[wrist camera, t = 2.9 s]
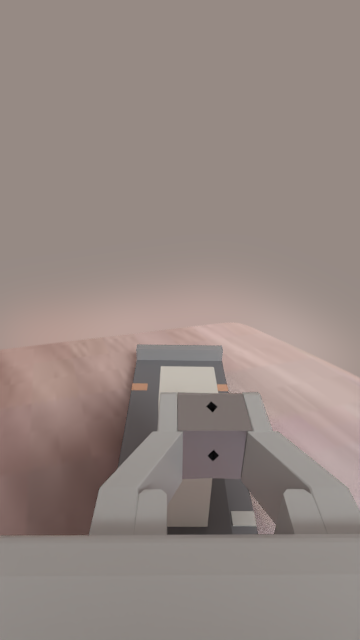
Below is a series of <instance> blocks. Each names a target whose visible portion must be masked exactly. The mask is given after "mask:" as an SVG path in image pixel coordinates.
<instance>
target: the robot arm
mask: <svg viewBox="0 0 360 640" xmlns="http://www.w3.org/2000/svg"><path fill="white" fill-rule="evenodd" d="M203 478H220V479H241V481H242V482H243V484H244V485H245V486H246V487H247V489H248V490H249V491H250V492H251V494H252V495H253V496H254V497H255V499H256V500H257V501H258V503H259V504H260V505H261V506H262V508H263V509H264V510H265V511H266V513H267V514H268V515H269V516H270V518H271V519H272V520H273V522H274V523H275V524H276V528H275V532H274V534H240V535H167V505H168V504H169V502H170V500H171V499H172V497H173V495H174V494H175V492H176V490H177V489H178V487H179V485H180V484H181V482H182V479H203ZM0 640H360V510H359V508H358V506H357V504H356V502H355V500H354V498H353V496H352V494H351V493H350V491H349V489H348V487H346V486H345V485H344V484H343V483H341V482H340V481H339V480H338V479H336V478H335V477H334V476H333V475H331V474H330V473H329V472H328V471H326V470H325V469H324V468H323V467H321V466H320V465H319V464H318V463H316V462H315V461H314V460H313V459H312V458H310V457H309V456H308V455H307V454H305V453H304V452H303V451H302V450H300V449H299V448H298V447H297V446H295V445H294V444H293V443H292V442H290V441H289V440H288V439H287V438H285V437H284V436H283V435H282V434H280V433H279V432H275V431H273V430H272V427H271V424H270V422H269V419H268V416H267V413H266V410H265V407H264V404H263V401H262V398H261V396H260V394H259V393H258V392H248V393H185V392H177V393H176V392H161V393H160V399H159V414H158V429H157V431H154V432H152V433H151V434H150V435H149V436H148V437H147V438H146V439H145V440H144V441H143V442H142V443H141V444H140V445H139V446H138V447H137V448H136V450H135V451H134V452H133V453H132V454H131V455H130V456H129V457H128V458H127V459H126V460H125V461H124V462H123V463H122V464H121V466H120V467H119V468H118V469H117V470H116V471H115V472H114V473H113V474H112V475H111V476H110V477H109V478H108V479H107V480H106V482H105V483H104V484H103V485H102V486H101V487H100V488H99V492H98V497H97V501H96V505H95V510H94V514H93V518H92V523H91V527H90V532H89V535H0Z"/></svg>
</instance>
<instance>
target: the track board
mask: <svg viewBox="0 0 360 640" xmlns="http://www.w3.org/2000/svg"><path fill="white" fill-rule="evenodd" d="M136 351H137V362H136V368H135V373H134V379H133V384H132V389H131V396H130V402H129V407H128V413H127V419H126V424H125V430H124V436H123V441H122V447H121V453H120V458H119V464H118V468H119V467H120V466H121V464H122V463H123V462H124V461H125V460H126V459H127V458H128V457H129V456H130V455H131V454H132V453H133V452H134V451H135V450H136V448H137V447H138V446H139V445H140V444H141V443H142V442H143V441H144V440H145V439H146V438H147V437H148V436H149V435H150V434H151V433H152V432H154V431H157V429H158V401H159V386H160V370H161V366H182V367H214V371H215V377H216V382H217V388H218V393H228V387H227V384H226V379H225V374H224V369H223V365H222V353H223V349H222V346H206V345H137V349H136ZM225 486H226V493H227V500H228V507H229V514H230V521H231V528H232V535H240V534H258V531H257V524H256V520H255V515H254V511H253V507H252V502H251V498H250V493H249V490H248V489H247V487H246V486H245V485H244V484H243V482H242V481H241V479H225Z"/></svg>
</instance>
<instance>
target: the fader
mask: <svg viewBox="0 0 360 640" xmlns="http://www.w3.org/2000/svg"><path fill="white" fill-rule="evenodd" d="M161 392H176V393H177V392H185V393H218V388H217V382H216V377H215V371H214V367H182V366H161V370H160V386H159V399H160V393H161ZM158 414H159V401H158ZM167 535H232V528H231V521H230V514H229V507H228V500H227V493H226V486H225V479H220V478H203V479H182V482H181V484H180V485H179V487H178V489H177V490H176V492H175V494H174V495H173V497H172V499H171V500H170V502H169V504H168V505H167Z"/></svg>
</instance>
